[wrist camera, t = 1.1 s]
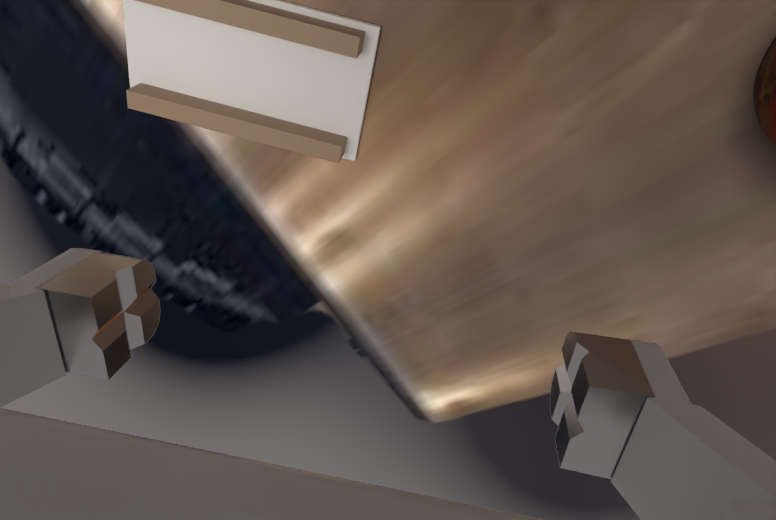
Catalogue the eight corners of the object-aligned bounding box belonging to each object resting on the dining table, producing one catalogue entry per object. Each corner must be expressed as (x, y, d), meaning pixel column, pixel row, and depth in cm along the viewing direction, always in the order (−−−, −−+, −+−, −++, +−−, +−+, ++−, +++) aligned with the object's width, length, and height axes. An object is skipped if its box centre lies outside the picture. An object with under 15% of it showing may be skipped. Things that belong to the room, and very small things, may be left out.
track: (135, 100, 44) (116, 110, 42) (123, -42, 38) (101, -39, 36) (356, 158, 44) (349, 171, 42) (381, 26, 38) (375, 33, 36)
